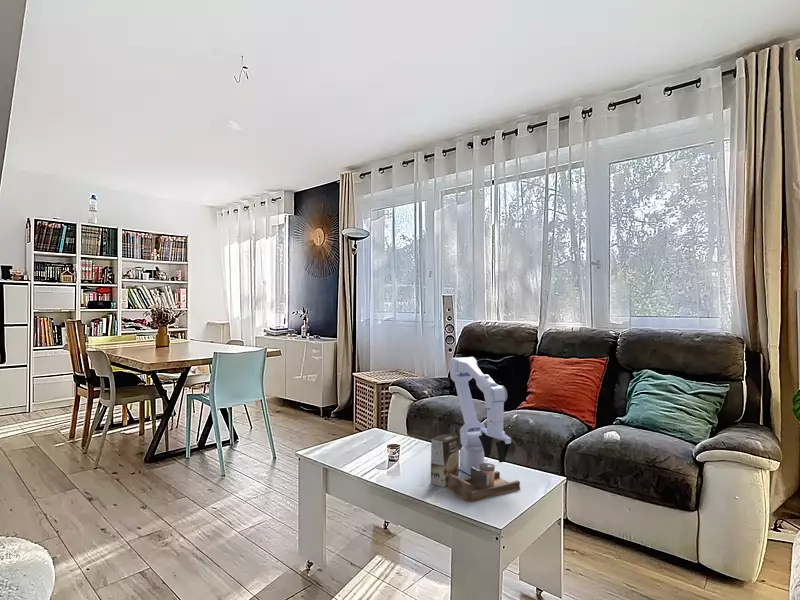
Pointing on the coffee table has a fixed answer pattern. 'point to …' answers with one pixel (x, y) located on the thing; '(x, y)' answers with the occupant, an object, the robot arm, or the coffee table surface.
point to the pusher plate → (479, 478)
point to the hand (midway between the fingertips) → (494, 458)
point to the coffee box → (444, 458)
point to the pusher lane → (472, 493)
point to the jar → (488, 472)
